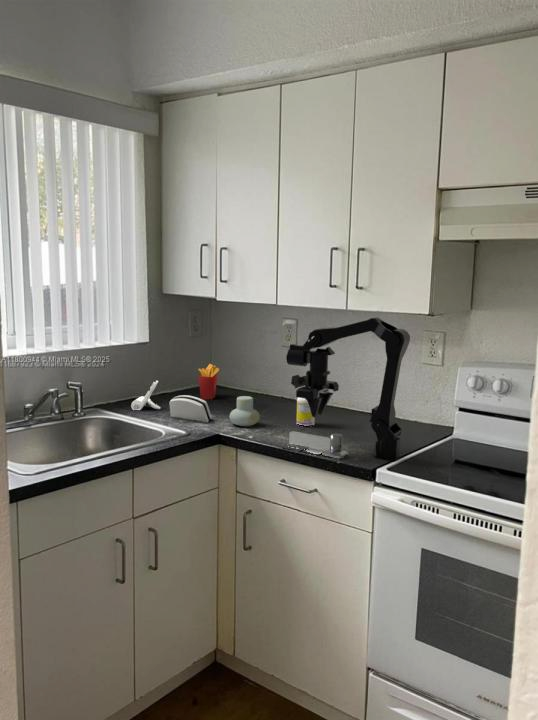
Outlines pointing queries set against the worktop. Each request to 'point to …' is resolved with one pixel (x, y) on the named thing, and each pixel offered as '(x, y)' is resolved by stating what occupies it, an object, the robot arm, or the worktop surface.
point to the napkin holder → (190, 408)
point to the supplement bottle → (304, 413)
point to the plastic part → (145, 400)
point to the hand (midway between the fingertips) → (316, 415)
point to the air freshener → (244, 412)
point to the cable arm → (317, 441)
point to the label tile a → (315, 450)
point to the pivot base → (335, 454)
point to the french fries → (208, 382)
